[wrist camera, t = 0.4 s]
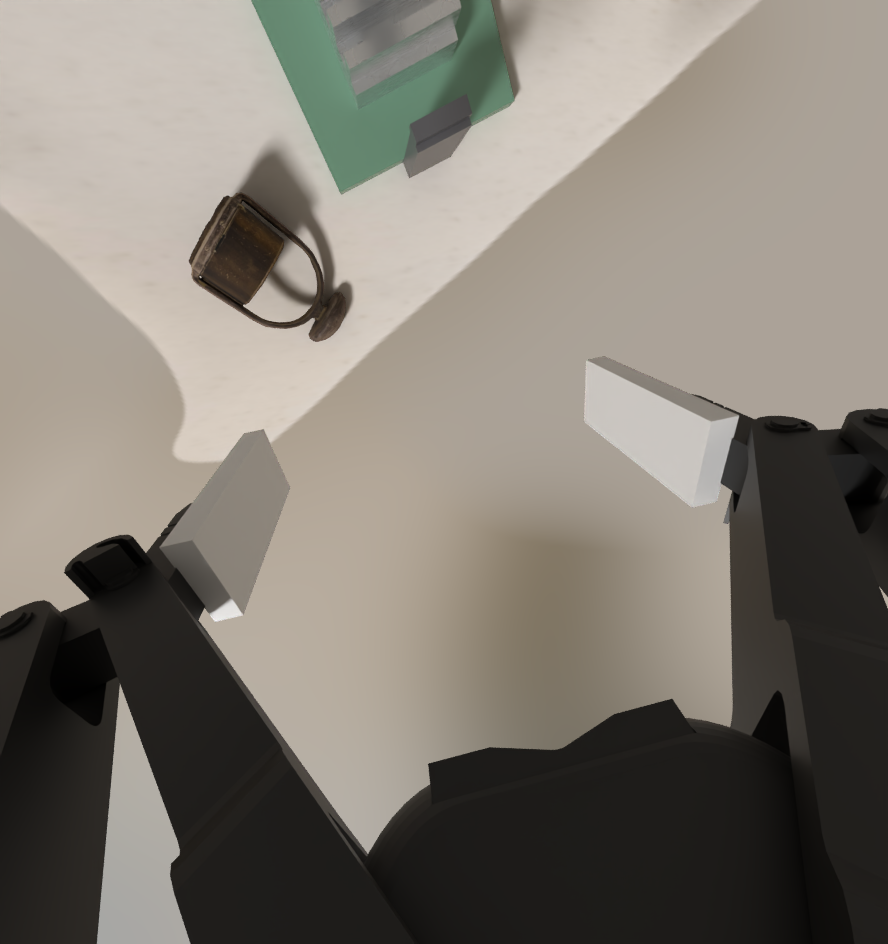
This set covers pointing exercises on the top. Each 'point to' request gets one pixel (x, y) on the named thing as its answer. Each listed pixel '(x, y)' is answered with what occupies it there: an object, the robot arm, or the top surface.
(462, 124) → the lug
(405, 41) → the heatsink
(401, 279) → the top surface
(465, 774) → the robot arm
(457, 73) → the board
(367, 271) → the top surface
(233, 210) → the antique brown clock
